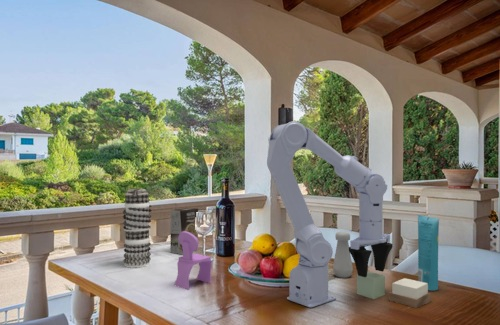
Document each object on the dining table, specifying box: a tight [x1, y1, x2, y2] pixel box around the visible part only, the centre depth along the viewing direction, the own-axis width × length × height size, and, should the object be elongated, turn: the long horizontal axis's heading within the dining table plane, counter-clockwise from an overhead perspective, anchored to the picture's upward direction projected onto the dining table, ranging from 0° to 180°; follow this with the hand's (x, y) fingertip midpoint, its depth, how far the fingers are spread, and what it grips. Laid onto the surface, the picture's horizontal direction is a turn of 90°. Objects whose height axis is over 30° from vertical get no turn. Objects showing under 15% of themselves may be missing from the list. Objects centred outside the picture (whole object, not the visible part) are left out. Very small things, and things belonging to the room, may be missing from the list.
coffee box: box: [170, 207, 199, 255], centre depth 155 cm, size 9×6×16 cm
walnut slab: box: [388, 291, 432, 309], centre depth 100 cm, size 7×7×2 cm
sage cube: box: [356, 271, 386, 300], centre depth 105 cm, size 5×5×5 cm
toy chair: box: [173, 231, 213, 291], centre depth 114 cm, size 8×9×15 cm
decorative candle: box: [122, 188, 153, 268], centre depth 135 cm, size 9×9×25 cm
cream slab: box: [391, 277, 429, 299], centre depth 99 cm, size 6×6×2 cm
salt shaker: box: [332, 231, 354, 279], centre depth 121 cm, size 6×6×13 cm
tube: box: [417, 214, 440, 291], centre depth 109 cm, size 7×5×19 cm, turn 26°
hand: (371, 273), depth 105 cm, fingers open, 7 cm apart
